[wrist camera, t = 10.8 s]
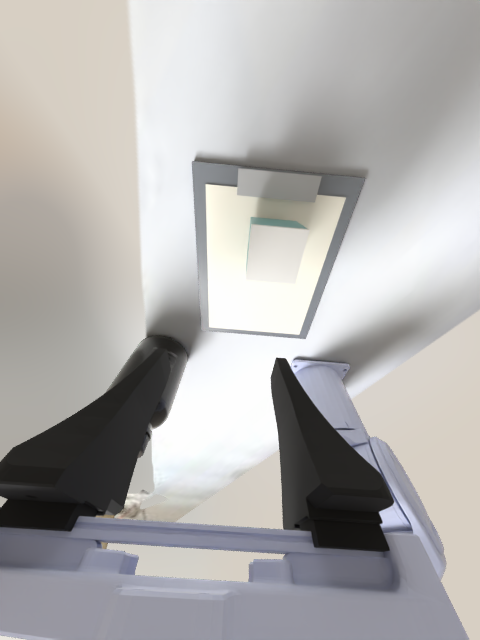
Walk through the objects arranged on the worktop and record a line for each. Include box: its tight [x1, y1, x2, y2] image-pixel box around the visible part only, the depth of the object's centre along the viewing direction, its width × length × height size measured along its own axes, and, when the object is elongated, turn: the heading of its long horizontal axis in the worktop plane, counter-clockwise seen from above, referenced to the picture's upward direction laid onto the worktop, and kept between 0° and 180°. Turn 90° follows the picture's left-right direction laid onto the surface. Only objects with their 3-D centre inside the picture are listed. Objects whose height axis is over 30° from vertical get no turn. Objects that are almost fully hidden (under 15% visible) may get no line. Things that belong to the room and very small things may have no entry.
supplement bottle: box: [107, 336, 187, 458], centre depth 21 cm, size 7×7×12 cm
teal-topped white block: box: [246, 217, 310, 284], centre depth 14 cm, size 4×4×5 cm
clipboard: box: [192, 161, 365, 339], centre depth 18 cm, size 16×13×1 cm
